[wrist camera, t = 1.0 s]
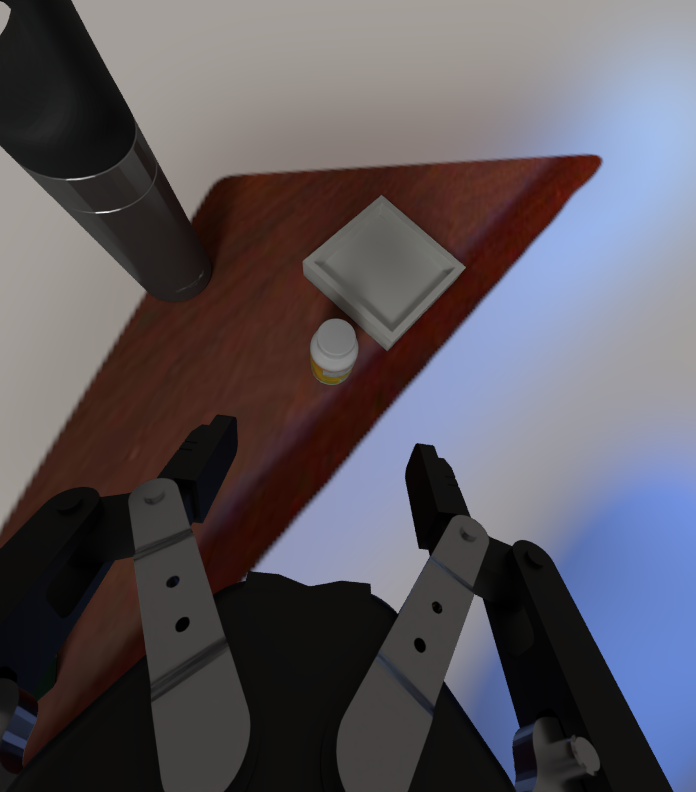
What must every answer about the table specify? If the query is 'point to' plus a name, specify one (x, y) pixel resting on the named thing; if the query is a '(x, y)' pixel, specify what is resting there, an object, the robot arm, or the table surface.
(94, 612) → the table surface
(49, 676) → the crayon box
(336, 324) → the supplement bottle
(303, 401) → the table surface
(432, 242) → the tray
